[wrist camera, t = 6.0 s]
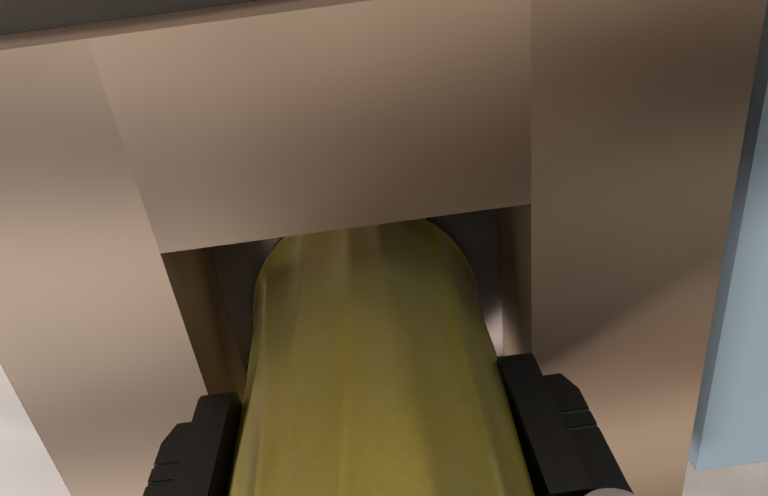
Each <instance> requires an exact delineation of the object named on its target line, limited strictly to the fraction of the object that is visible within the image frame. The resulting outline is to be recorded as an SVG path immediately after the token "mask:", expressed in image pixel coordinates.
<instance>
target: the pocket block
mask: <svg viewBox="0 0 768 496" xmlns="http://www.w3.org/2000/svg"><path fill="white" fill-rule="evenodd" d="M766 6H767V0H256V1H249V2H242V3H234V4H227V5H219V6H212V7H205V8H197V9H190V10H182V11H175V12H168V13H160V14H153V15H145V16H138V17H131V18H123V19H116V20H108V21H101V22H93V23H86V24H79V25H71V26H64V27H56V28H49V29H42V30H34V31H27V32H19V33H12V34H5V35H0V364H1V366H2V368H3V370H4V372H5V373H6V375H7V377H8V379H9V381H10V383H11V385H12V386H13V388H14V390H15V392H16V394H17V396H18V398H19V399H20V401H21V403H22V405H23V407H24V409H25V410H26V412H27V414H28V416H29V418H30V420H31V422H32V423H33V425H34V427H35V429H36V431H37V433H38V435H39V436H40V438H41V440H42V442H43V444H44V446H45V448H46V449H47V451H48V453H49V455H50V457H51V459H52V460H53V462H54V464H55V466H56V468H57V470H58V472H59V473H60V475H61V477H62V479H63V481H64V483H65V485H66V486H67V488H68V490H69V492H70V494H71V496H143V493H144V490H145V488H146V487H147V486H148V483H147V482H148V479H149V476H150V473H151V471H152V469H154V462H155V459H156V456H157V454H158V451H159V448H160V445H161V443H162V442H163V440H164V439H165V438H166V437H167V436H168V434H169V433H170V432H171V431H172V429H173V428H174V427H175V426H176V425H177V424H178V423H185V422H191V421H192V418H193V415H194V412H195V408H196V405H197V402H198V399H199V398H200V397H201V396H203V395H211V394H218V393H226V392H233V391H236V392H237V393H238V395H239V398H240V401H241V404H242V402H243V397H244V392H245V387H246V382H247V378H246V374H245V371H244V367H243V364H242V361H241V357H240V354H239V350H238V347H237V344H236V340H235V337H234V334H233V330H232V327H231V323H230V320H229V317H228V313H227V310H226V306H225V303H224V300H223V296H222V293H221V289H220V286H219V283H218V279H217V276H216V272H215V269H214V266H213V262H212V259H211V255H210V252H209V249H208V247H213V246H220V245H228V244H235V243H242V242H250V241H257V240H265V239H272V238H280V237H287V236H295V235H302V234H310V233H317V232H325V231H332V230H340V229H347V228H354V227H362V226H369V225H377V224H384V223H392V222H399V221H407V220H414V219H422V218H429V217H437V216H444V215H451V214H459V213H466V212H474V211H481V210H489V209H496V208H499V219H500V252H501V286H502V320H503V353H504V356H508V355H515V354H523V353H530V352H531V353H532V354H533V355H534V357H535V359H536V361H537V363H538V366H539V368H540V370H541V372H542V375H550V374H558V373H561V374H562V375H564V376H565V377H566V378H567V379H568V380H570V381H571V382H572V383H573V384H574V385H576V386H577V387H578V388H579V389H580V391H581V393H582V395H583V397H584V399H585V401H586V403H587V405H588V407H589V411H591V413H592V415H593V417H594V419H595V420H596V422H597V427H599V428H600V430H601V432H602V434H603V436H604V438H605V440H606V442H607V444H608V446H609V448H610V450H611V452H612V454H613V455H614V457H615V459H616V461H617V463H618V465H619V467H620V469H621V471H622V473H623V475H624V477H625V479H626V481H627V483H628V485H629V486H630V488H631V490H632V491H633V492H634V494H636V495H637V496H682V490H683V484H684V479H685V473H686V467H687V461H688V456H689V450H690V444H691V438H692V433H693V427H694V421H695V415H696V410H697V404H698V398H699V392H700V387H701V381H702V375H703V369H704V363H705V358H706V352H707V346H708V340H709V335H710V329H711V323H712V317H713V312H714V306H715V300H716V294H717V289H718V283H719V277H720V271H721V265H722V260H723V254H724V248H725V242H726V237H727V231H728V225H729V219H730V214H731V208H732V202H733V196H734V191H735V185H736V179H737V173H738V168H739V162H740V156H741V150H742V144H743V139H744V133H745V127H746V121H747V116H748V110H749V104H750V98H751V93H752V87H753V81H754V75H755V70H756V64H757V58H758V52H759V46H760V41H761V35H762V29H763V23H764V18H765V12H766Z"/></svg>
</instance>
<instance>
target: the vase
mask: <svg viewBox="0 0 768 496" xmlns="http://www.w3.org/2000/svg"><path fill="white" fill-rule="evenodd" d="M226 496H535V494H534V490H533V487H532V483H531V479H530V476H529V472H528V468H527V465H526V461H525V458H524V454H523V451H522V448H521V444H520V441H519V437H518V434H517V430H516V426H515V423H514V419H513V415H512V411H511V407H510V403H509V400H508V396H507V392H506V388H505V384H504V381H503V378H502V375H501V372H500V369H499V366H498V364H497V355H496V352H495V349H494V346H493V343H492V340H491V338H490V335H489V332H488V330H487V327H486V324H485V322H484V319H483V316H482V314H481V311H480V309H479V306H478V287H477V283H476V280H475V277H474V273H473V270H472V268H471V266H470V264H469V262H468V260H467V258H466V257H465V255H464V253H463V252H462V251H461V249H460V248H459V246H458V245H457V244H456V243H455V242H454V240H453V239H452V238H451V237H450V236H449V235H448V234H447V233H445V232H444V231H443V230H442V229H441V228H439V227H438V226H436V225H435V224H433V223H431V222H430V221H428V220H426V219H423V218H422V219H414V220H407V221H399V222H392V223H384V224H377V225H369V226H362V227H354V228H347V229H340V230H332V231H325V232H317V233H310V234H302V235H295V236H287V237H284V238H283V239H282V240H281V241H280V242H279V243H278V244H277V245H276V246H275V247H274V248H273V250H272V251H271V252H270V253H269V255H268V256H267V258H266V259H265V261H264V263H263V265H262V267H261V269H260V272H259V274H258V277H257V280H256V285H255V289H254V300H253V336H252V343H251V350H250V358H249V365H248V373H247V382H246V387H245V392H244V397H243V402H242V410H241V416H240V422H239V427H238V433H237V438H236V444H235V449H234V455H233V461H232V467H231V472H230V478H229V484H228V489H227V495H226Z"/></svg>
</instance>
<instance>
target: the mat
mask: <svg viewBox="0 0 768 496" xmlns="http://www.w3.org/2000/svg"><path fill="white" fill-rule="evenodd" d="M688 460H689V461H690V463H691V464H692V466H693V467H694V469H695V470H696V471H698V470H705V469H713V468H720V467H728V466H735V465H743V464H750V463H758V462H765V461H768V2H767V8H766V14H765V19H764V25H763V31H762V37H761V42H760V48H759V54H758V60H757V65H756V71H755V77H754V83H753V88H752V94H751V100H750V106H749V111H748V117H747V123H746V129H745V134H744V140H743V146H742V152H741V157H740V163H739V169H738V175H737V180H736V186H735V192H734V198H733V203H732V209H731V215H730V221H729V227H728V232H727V238H726V244H725V250H724V255H723V261H722V267H721V273H720V278H719V284H718V290H717V296H716V301H715V307H714V313H713V319H712V324H711V330H710V336H709V342H708V347H707V353H706V359H705V365H704V370H703V376H702V382H701V388H700V393H699V399H698V405H697V411H696V416H695V422H694V428H693V434H692V439H691V445H690V451H689V457H688Z"/></svg>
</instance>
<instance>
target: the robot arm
mask: <svg viewBox="0 0 768 496" xmlns="http://www.w3.org/2000/svg"><path fill="white" fill-rule="evenodd" d="M497 364H498V366H499V369H500V372H501V375H502V378H503V381H504V384H505V388H506V392H507V396H508V400H509V403H510V407H511V411H512V415H513V419H514V423H515V426H516V430H517V434H518V437H519V441H520V444H521V448H522V451H523V454H524V458H525V461H526V465H527V468H528V472H529V476H530V479H531V483H532V487H533V490H534V494H535V496H637V495H636V494H634V492H633V491H632V490H631V488H630V486H629V485H628V483H627V481H626V479H625V477H624V475H623V473H622V471H621V469H620V467H619V465H618V463H617V461H616V459H615V457H614V455H613V454H612V452H611V450H610V448H609V446H608V444H607V442H606V440H605V438H604V436H603V434H602V432H601V430H600V428H599V427H597V422H596V420H595V419H594V417H593V415H592V413H591V411H589V407H588V405H587V403H586V401H585V399H584V397H583V395H582V393H581V391H580V389H579V388H578V387H577V386H576V385H574V384H573V383H572V382H571V381H570V380H568V379H567V378H566V377H565V376H564V375H562V374H561V373H558V374H550V375H542V372H541V370H540V368H539V366H538V363H537V361H536V359H535V357H534V355H533V354H532V353H531V352H530V353H523V354H515V355H508V356H500V357H497ZM241 410H242V404H241V401H240V398H239V395H238V393H237V392H236V391H233V392H226V393H218V394H211V395H203V396H201V397H200V398H199V399H198V402H197V405H196V408H195V412H194V415H193V418H192V421H191V422H185V423H178V424H177V425H176V426H175V427H174V428H173V429H172V431H171V432H170V433H169V434H168V436H167V437H166V438H165V439H164V440H163V442H162V443H161V445H160V448H159V451H158V454H157V456H156V459H155V462H154V469H152V471H151V473H150V476H149V479H148V482H147V483H148V486H147V487H146V488H145V490H144V493H143V496H226V495H227V489H228V484H229V478H230V472H231V467H232V461H233V455H234V449H235V444H236V438H237V433H238V427H239V422H240V416H241Z"/></svg>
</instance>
